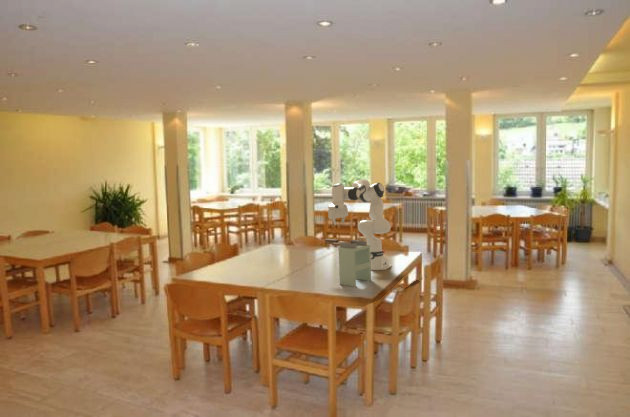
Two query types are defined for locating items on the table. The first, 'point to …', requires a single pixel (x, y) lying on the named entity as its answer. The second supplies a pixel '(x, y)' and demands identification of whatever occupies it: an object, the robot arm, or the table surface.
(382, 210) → the robot arm
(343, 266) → the stand
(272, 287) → the table surface
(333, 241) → the board with handle
